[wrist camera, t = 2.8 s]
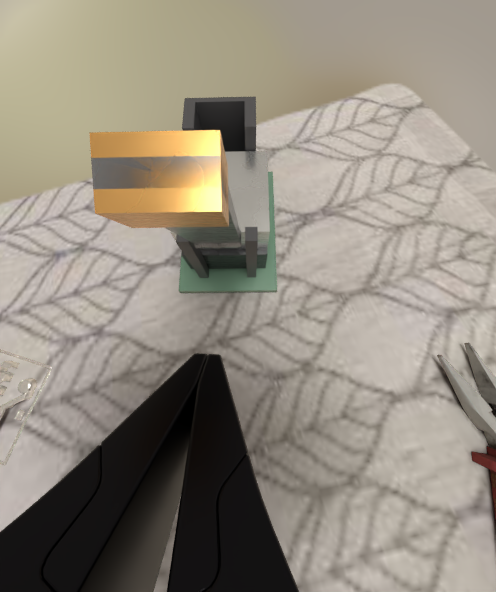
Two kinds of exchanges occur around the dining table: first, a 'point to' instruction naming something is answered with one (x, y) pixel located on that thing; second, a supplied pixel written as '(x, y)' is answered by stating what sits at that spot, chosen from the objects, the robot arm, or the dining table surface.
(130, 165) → the grey hinged lever
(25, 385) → the clear plastic blister pack
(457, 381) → the pliers
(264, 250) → the heat sink
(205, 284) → the socket board
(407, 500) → the dining table surface
